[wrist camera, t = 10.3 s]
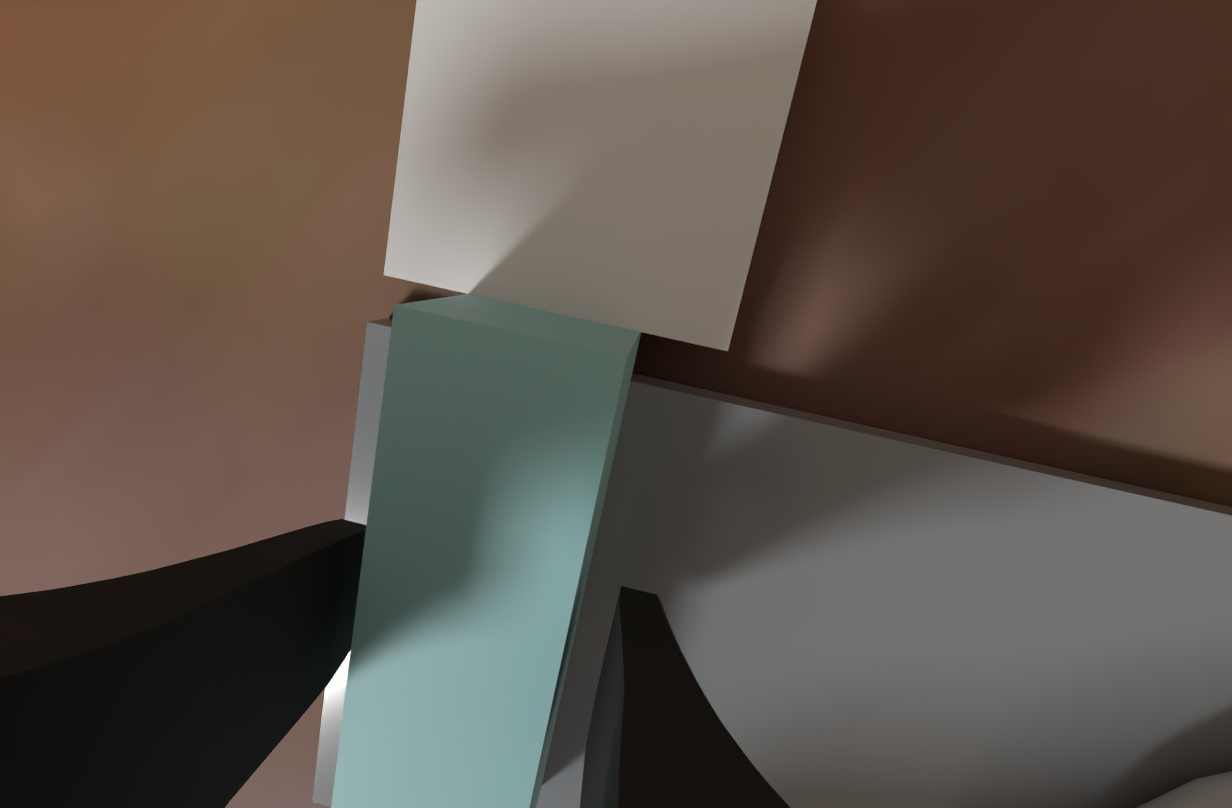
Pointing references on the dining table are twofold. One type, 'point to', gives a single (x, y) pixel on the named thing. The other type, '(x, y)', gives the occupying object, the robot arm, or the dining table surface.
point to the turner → (537, 348)
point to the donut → (1197, 794)
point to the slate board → (891, 609)
